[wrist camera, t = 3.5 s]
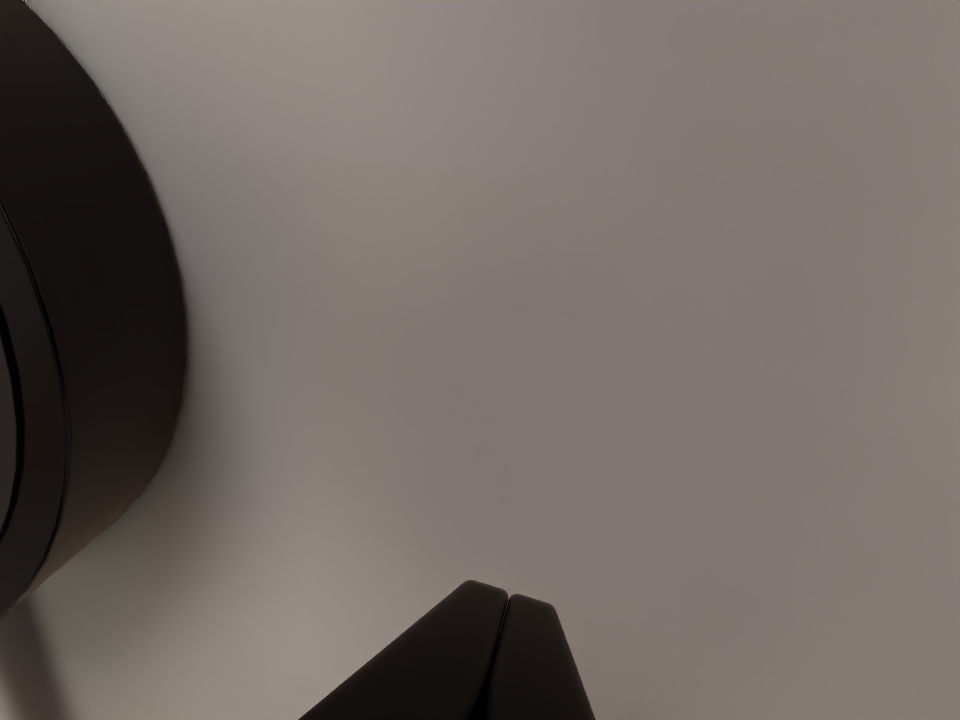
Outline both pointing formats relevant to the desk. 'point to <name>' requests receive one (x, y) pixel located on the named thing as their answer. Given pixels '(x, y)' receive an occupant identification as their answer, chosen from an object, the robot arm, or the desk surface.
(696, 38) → the desk surface
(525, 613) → the robot arm
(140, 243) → the pan
